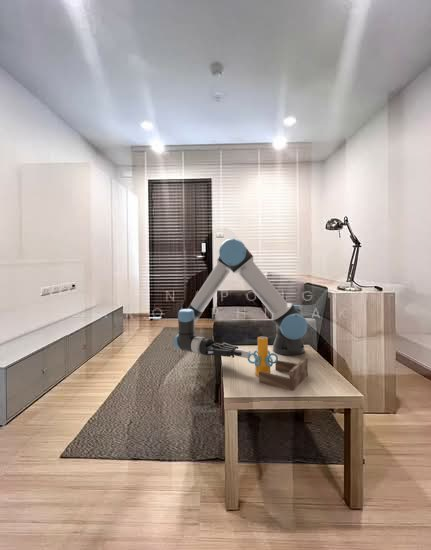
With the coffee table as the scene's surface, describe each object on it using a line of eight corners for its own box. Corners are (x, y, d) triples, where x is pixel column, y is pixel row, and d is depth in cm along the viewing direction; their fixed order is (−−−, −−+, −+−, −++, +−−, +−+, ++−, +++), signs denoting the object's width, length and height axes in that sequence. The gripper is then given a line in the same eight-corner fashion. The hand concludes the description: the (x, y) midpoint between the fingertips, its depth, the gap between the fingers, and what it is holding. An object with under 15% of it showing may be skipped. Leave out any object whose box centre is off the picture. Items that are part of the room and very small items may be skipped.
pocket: (276, 369, 133) (276, 352, 133) (307, 375, 126) (307, 358, 125) (259, 382, 120) (258, 364, 119) (292, 390, 112) (292, 371, 112)
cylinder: (276, 369, 133) (276, 334, 132) (279, 379, 122) (279, 341, 121) (247, 369, 134) (246, 334, 132) (248, 379, 123) (247, 341, 122)
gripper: (211, 350, 149) (256, 359, 135) (194, 358, 138) (241, 368, 125) (211, 334, 148) (256, 341, 135) (194, 341, 138) (241, 349, 124)
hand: (249, 354), depth 130 cm, fingers closed
